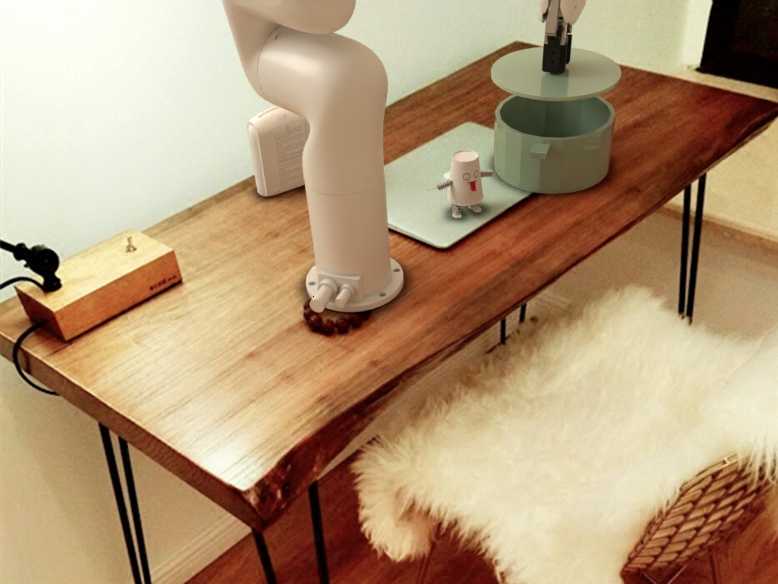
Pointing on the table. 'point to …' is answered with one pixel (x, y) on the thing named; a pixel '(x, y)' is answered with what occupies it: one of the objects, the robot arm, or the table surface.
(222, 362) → the table surface
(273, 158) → the photo printer
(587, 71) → the lid
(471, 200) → the toy figure
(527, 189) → the pot
